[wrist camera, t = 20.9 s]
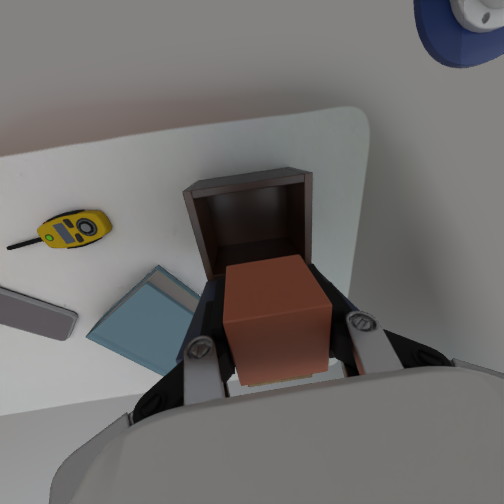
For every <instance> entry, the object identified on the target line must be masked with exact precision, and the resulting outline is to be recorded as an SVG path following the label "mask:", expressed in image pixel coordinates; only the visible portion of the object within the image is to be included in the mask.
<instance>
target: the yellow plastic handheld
mask: <svg viewBox="0 0 504 504" xmlns="http://www.w3.org/2000/svg"><path fill="white" fill-rule="evenodd" d="M111 230H112V225H111V223H110V221H109V220H108V218H107V217H106V215H105V214H104V213H103V212H101V211H97V210H90V211H85V210H76V211H70V212H66V213H63V214H60V215H57V216H55V217H53V218H51V219H49V220H47V221H46V222H44V223H43V225H42V226H40V227H39V228H38V229H37V233H38V234H39V236H40V238H36V239H32V240H29V241H25V242H22V243H18V244H15V245H11V246H8V247H7V250H12V249H16V248H20V247H23V246H27V245H30V244H34V243H37V242H41V241H43V242H45V243H46V244H47V245H48V246H49V247H51V248H67V249H70V248H78V247H83V246H86V245H89V244H91V243H94V242H96V241H98V240H99V239H101V238H102V236H104V235H105V234H107V233H109V232H110V231H111ZM68 247H69V248H68Z"/></svg>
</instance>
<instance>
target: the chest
mask: <svg viewBox="0 0 504 504" xmlns="http://www.w3.org/2000/svg"><path fill="white" fill-rule="evenodd" d="M312 175H313V173H312V172H308V171H304V170H300V169H295V168H291V167H286V168H279V169H273V170H266V171H259V172H252V173H246V174H239V175H232V176H225V177H219V178H212V179H205V180H198V181H197V182H195V183H194V184H193V185H191V186H190V187H188V188H187V189H186V190H184V191H183V192H182V193H183V196H184V200H185V203H186V207H187V210H188V214H189V217H190V221H191V224H192V228H193V231H194V235H195V238H196V241H197V245H198V248H199V252H200V255H201V259H202V262H203V266H204V269H205V273H206V276H207V280H208V281H214V280H217V279H218V278H224V277H226V267H227V266H230V265H236V264H243V263H249V262H255V261H261V260H267V259H273V258H279V257H285V256H291V255H298V254H299V255H300V256H301V258H302V259H303V261H304V262H305V264H306V265H307V264H311V256H312Z"/></svg>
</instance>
